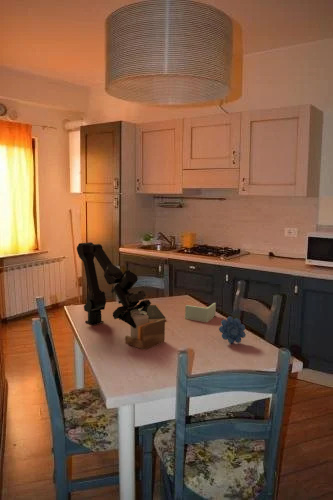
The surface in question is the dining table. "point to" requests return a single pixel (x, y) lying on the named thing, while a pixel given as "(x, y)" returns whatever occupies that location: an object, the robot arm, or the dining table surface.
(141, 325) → the pusher
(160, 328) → the brown wooden crate
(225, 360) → the dining table surface
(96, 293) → the robot arm
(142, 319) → the can
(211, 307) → the right angle wall
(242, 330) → the grapes
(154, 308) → the hardcover book
